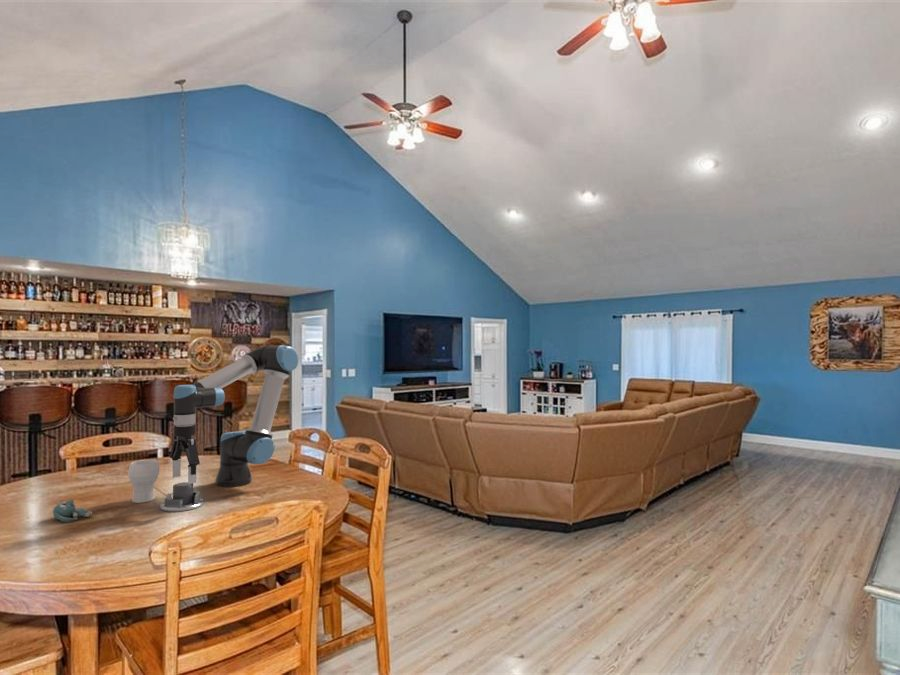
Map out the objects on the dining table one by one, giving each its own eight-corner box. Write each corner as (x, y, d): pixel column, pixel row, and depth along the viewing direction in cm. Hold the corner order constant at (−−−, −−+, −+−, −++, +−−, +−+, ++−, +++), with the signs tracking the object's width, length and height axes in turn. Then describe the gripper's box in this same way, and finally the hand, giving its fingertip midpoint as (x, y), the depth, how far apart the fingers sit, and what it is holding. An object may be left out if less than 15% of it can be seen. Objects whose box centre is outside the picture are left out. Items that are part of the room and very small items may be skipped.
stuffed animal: (84, 507, 177) (47, 501, 175) (79, 528, 176) (42, 522, 175) (101, 498, 187) (66, 492, 186) (96, 517, 187) (61, 512, 185)
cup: (164, 497, 207) (165, 460, 207) (141, 505, 197) (142, 466, 197) (145, 495, 210) (146, 458, 210) (121, 502, 200) (122, 463, 200)
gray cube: (169, 503, 196) (169, 483, 196) (188, 499, 202) (188, 480, 202) (177, 507, 192) (177, 487, 192) (196, 502, 197) (196, 483, 197)
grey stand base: (153, 506, 196) (153, 495, 196) (193, 497, 207) (193, 487, 207) (170, 514, 186) (170, 503, 186) (211, 505, 198) (211, 494, 198)
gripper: (160, 422, 202) (160, 476, 202) (189, 429, 187) (188, 487, 186) (180, 420, 208) (180, 472, 208) (209, 427, 192) (209, 483, 192)
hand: (184, 479), depth 197 cm, fingers open, 13 cm apart
